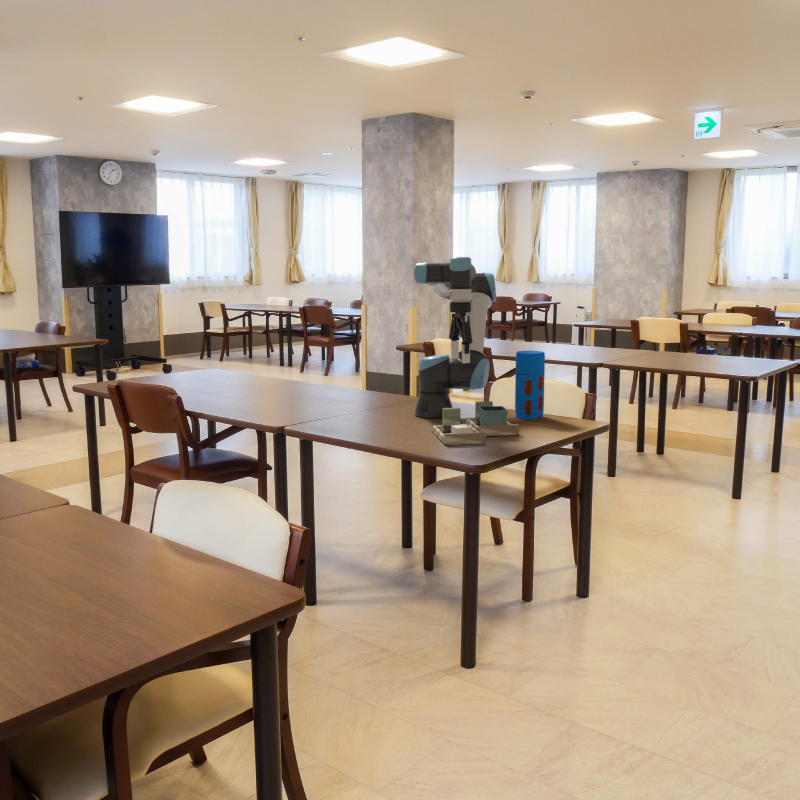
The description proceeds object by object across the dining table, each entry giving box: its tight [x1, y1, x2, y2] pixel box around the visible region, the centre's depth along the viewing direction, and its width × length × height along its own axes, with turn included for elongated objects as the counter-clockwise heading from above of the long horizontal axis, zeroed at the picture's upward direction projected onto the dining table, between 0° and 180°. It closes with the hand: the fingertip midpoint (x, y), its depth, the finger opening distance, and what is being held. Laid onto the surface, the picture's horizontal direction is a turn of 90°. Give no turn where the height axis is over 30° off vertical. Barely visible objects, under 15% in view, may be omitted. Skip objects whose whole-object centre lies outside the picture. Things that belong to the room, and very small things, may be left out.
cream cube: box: [450, 425, 471, 433], centre depth 277 cm, size 5×5×5 cm
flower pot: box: [479, 405, 509, 425], centre depth 288 cm, size 9×9×9 cm
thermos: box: [514, 350, 546, 421], centre depth 317 cm, size 11×11×25 cm
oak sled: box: [464, 400, 520, 437], centre depth 294 cm, size 23×14×8 cm, turn 8°
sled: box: [431, 407, 487, 446], centre depth 281 cm, size 23×14×8 cm, turn 8°
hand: (460, 360), depth 298 cm, fingers open, 13 cm apart
